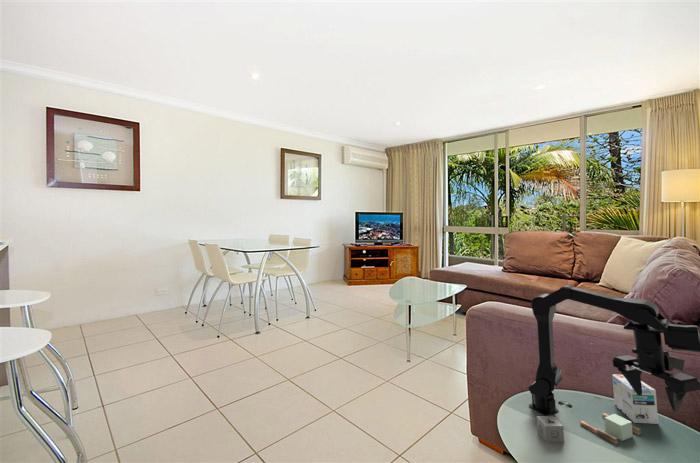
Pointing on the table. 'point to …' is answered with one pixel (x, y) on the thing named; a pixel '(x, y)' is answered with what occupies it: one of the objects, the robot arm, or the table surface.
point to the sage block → (618, 427)
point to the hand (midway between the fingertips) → (656, 402)
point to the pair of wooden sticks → (605, 434)
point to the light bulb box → (635, 401)
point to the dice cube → (550, 429)
